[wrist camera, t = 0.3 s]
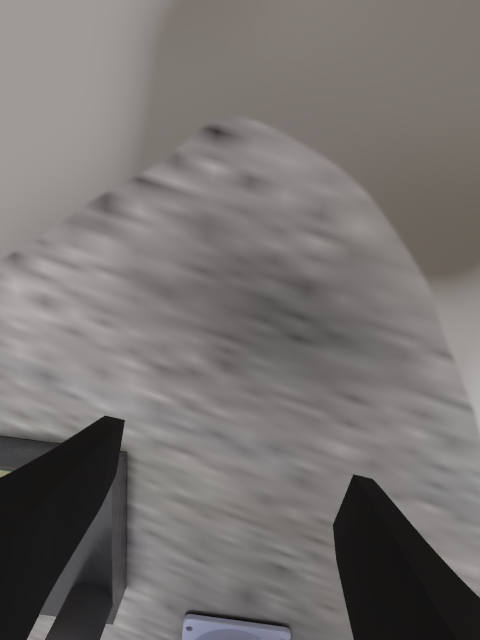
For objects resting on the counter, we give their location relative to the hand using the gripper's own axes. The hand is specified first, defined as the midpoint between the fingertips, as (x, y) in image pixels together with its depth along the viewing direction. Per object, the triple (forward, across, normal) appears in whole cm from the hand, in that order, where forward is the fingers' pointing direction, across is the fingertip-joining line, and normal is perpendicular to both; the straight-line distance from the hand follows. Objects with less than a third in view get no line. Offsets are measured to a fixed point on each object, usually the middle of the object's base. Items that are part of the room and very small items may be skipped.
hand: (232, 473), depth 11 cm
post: (+8, +6, +19) cm, 21 cm away
